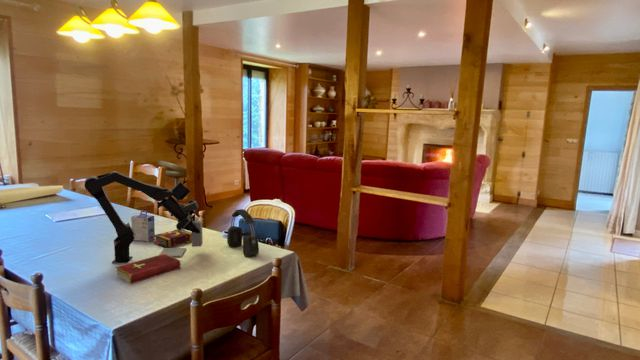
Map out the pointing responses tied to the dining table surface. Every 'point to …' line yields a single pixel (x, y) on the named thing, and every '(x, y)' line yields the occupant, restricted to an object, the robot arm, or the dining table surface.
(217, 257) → the dining table surface
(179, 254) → the plate
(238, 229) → the headphones
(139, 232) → the ink cartridge box
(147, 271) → the hardcover book
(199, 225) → the grey tall piece
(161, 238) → the decorative book
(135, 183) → the robot arm
